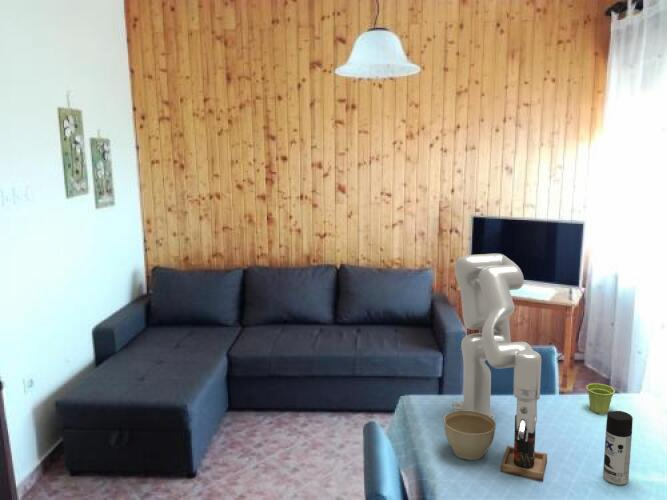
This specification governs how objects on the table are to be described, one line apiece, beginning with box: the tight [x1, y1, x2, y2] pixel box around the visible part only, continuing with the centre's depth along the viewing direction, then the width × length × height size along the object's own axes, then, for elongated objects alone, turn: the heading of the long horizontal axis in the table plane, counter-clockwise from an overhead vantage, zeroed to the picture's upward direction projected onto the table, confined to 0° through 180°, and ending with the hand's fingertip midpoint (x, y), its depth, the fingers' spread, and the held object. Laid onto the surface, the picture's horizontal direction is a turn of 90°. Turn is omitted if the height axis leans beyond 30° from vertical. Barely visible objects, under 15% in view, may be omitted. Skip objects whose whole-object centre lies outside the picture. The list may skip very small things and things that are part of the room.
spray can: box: [602, 410, 634, 486], centre depth 157 cm, size 7×7×20 cm
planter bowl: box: [443, 410, 497, 461], centre depth 174 cm, size 16×16×11 cm
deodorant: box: [513, 414, 537, 469], centre depth 165 cm, size 6×6×15 cm
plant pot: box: [585, 383, 616, 415], centre depth 199 cm, size 9×9×9 cm
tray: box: [500, 445, 548, 482], centre depth 166 cm, size 12×12×2 cm
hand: (524, 444), depth 165 cm, fingers open, 9 cm apart
